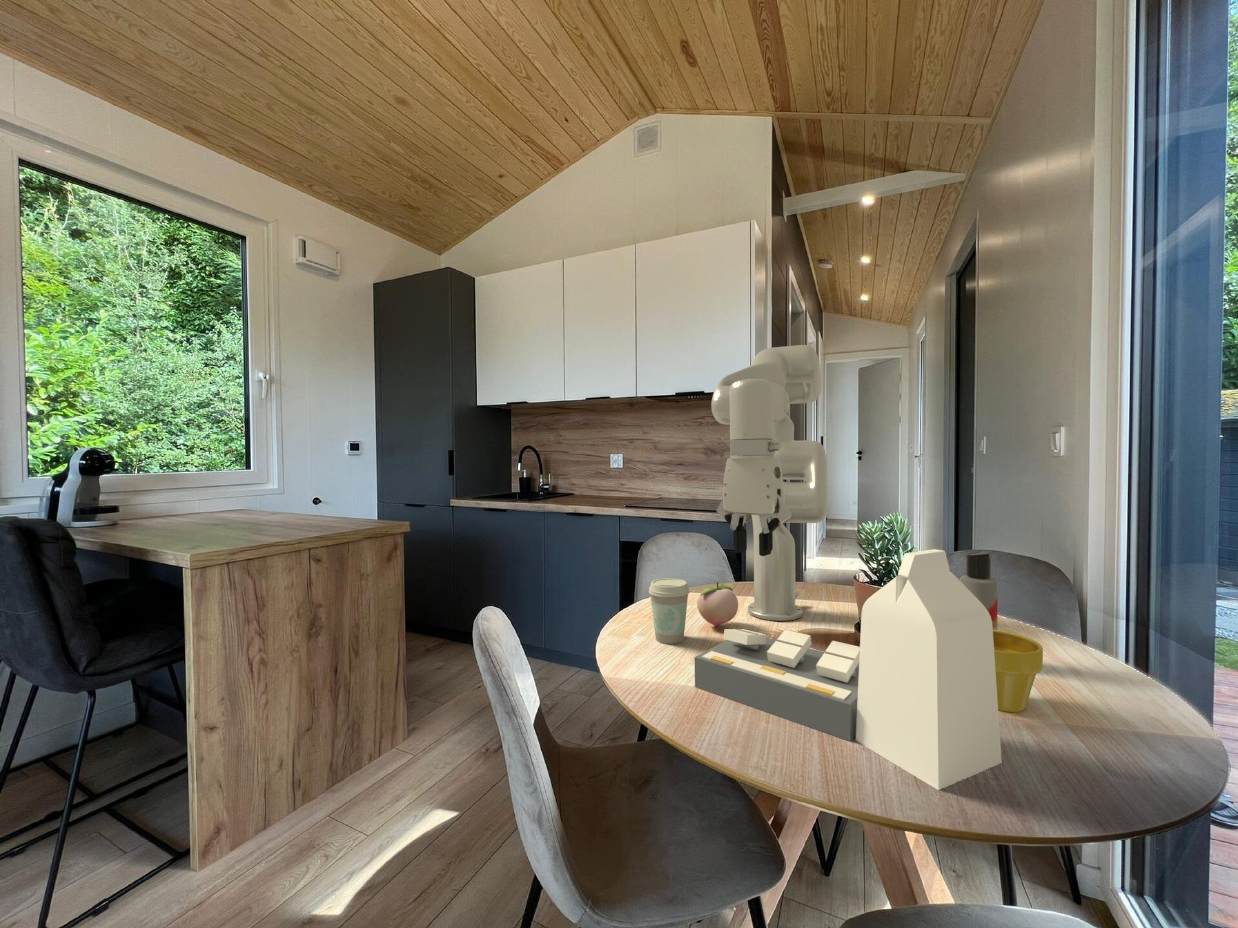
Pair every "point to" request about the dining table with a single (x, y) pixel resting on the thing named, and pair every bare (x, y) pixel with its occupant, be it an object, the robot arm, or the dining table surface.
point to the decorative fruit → (717, 605)
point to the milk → (928, 674)
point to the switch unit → (780, 686)
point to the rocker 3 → (839, 661)
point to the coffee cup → (669, 609)
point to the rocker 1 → (744, 636)
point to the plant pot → (1015, 669)
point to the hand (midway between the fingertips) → (752, 552)
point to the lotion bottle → (982, 583)
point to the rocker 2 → (789, 648)
